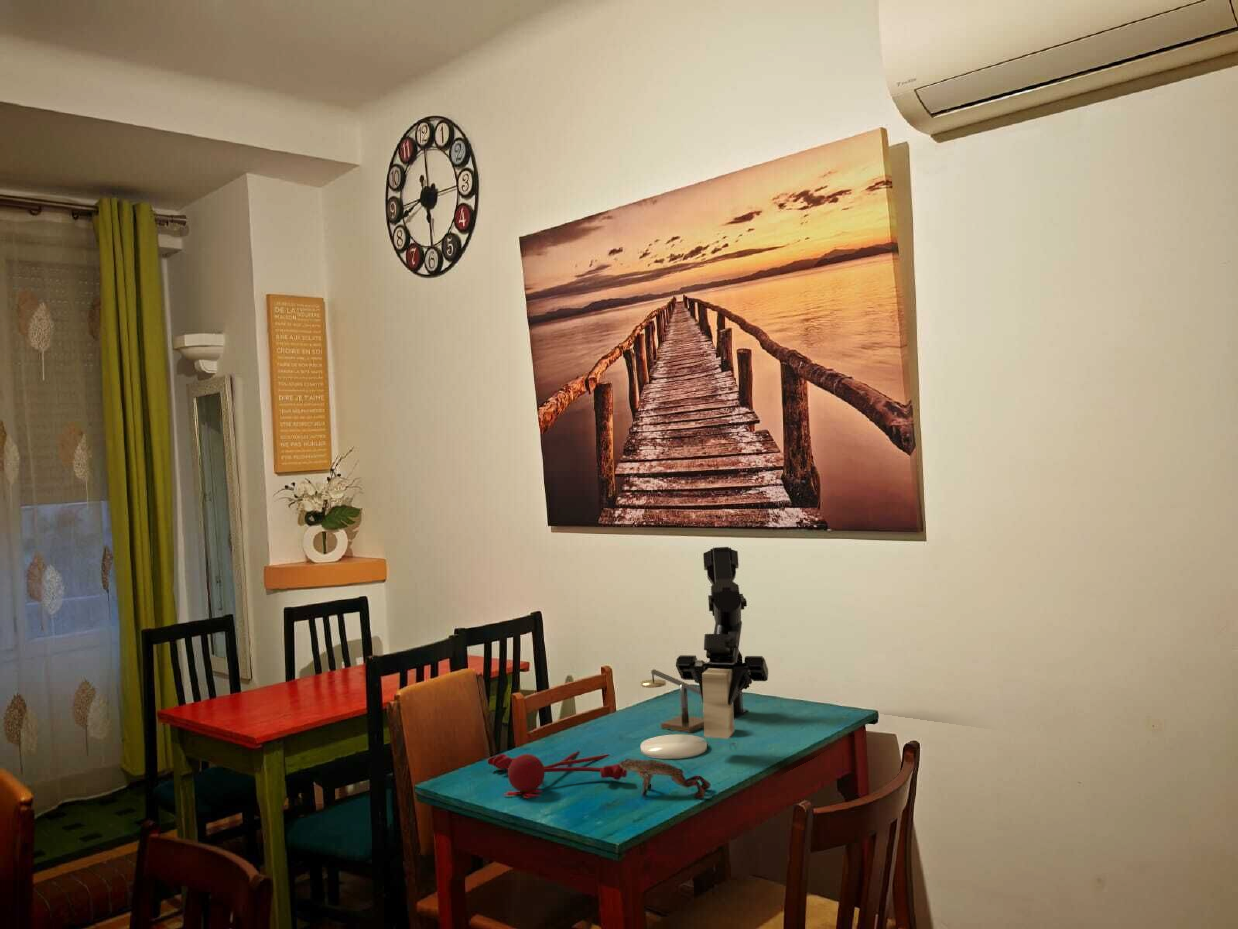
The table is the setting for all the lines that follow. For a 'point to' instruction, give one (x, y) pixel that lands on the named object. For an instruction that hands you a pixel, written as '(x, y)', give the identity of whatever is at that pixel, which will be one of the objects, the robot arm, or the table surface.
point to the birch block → (717, 703)
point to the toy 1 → (545, 770)
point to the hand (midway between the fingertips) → (716, 703)
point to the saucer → (673, 746)
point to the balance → (683, 721)
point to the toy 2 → (663, 769)
